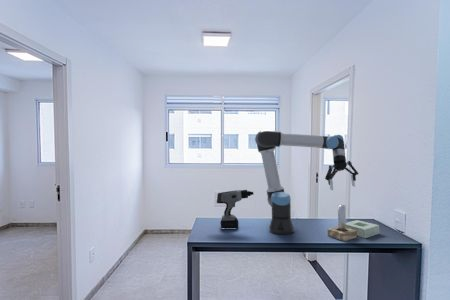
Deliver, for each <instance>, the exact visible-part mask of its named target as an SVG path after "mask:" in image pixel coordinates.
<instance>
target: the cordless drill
mask: <svg viewBox="0 0 450 300" xmlns="http://www.w3.org/2000/svg"><path fill="white" fill-rule="evenodd" d="M253 195H254V191H250V190H248V189H239V190H238V189H237V190H230V191H223V192H218V193H217V197H216V204H225V205H226V207H225V208H224V211H223V215H221V219H220V229H221V228H238V229H239V220H238V217H237V216H235V215H234V214H232V213H231V211H232V209H233V208H235V207H236V203H237V202H240V201H241V200H242V199H243V200H244V199H248V198H249V197H250V196H253Z"/></svg>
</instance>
